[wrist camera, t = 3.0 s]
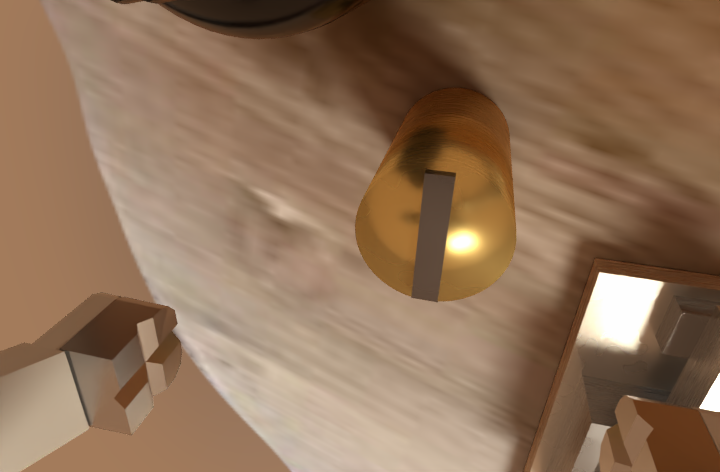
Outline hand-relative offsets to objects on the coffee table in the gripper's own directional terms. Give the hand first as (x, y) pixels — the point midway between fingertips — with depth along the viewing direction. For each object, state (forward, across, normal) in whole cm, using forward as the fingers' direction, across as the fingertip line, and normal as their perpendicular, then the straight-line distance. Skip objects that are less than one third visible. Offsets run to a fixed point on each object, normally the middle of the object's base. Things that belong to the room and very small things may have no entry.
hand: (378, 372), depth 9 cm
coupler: (+11, -1, -1) cm, 11 cm away
